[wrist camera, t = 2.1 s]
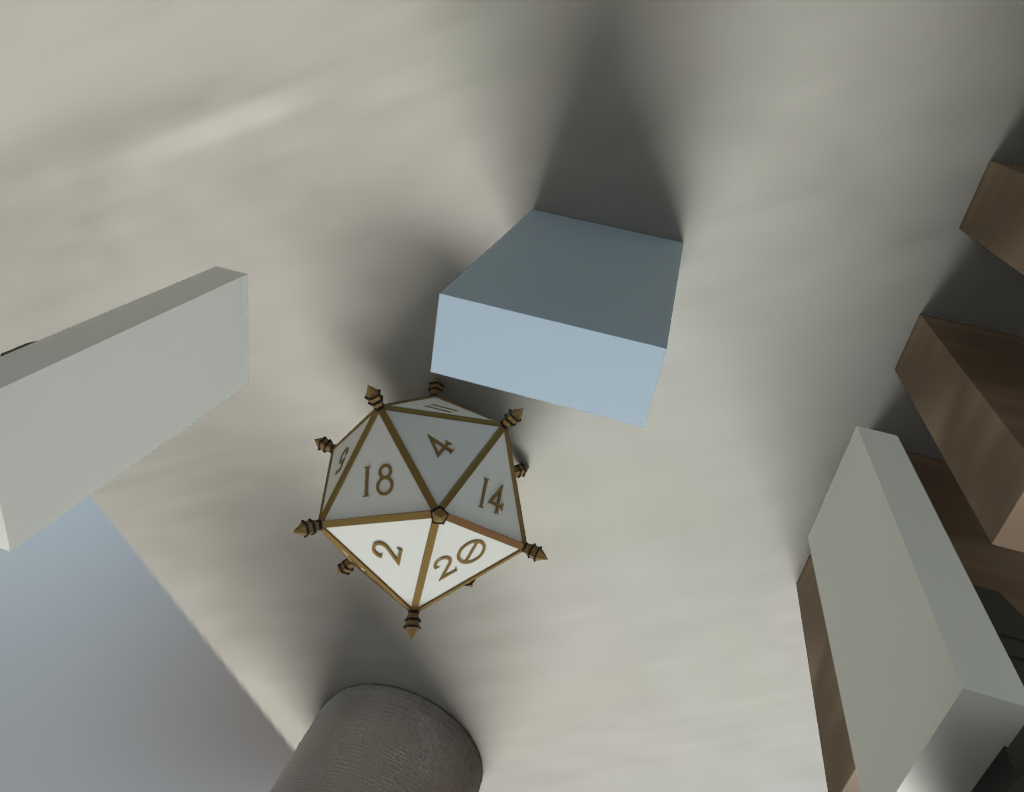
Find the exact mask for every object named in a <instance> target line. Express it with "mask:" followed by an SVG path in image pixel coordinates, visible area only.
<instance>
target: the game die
mask: <svg viewBox="0 0 1024 792" xmlns="http://www.w3.org/2000/svg"><path fill="white" fill-rule="evenodd" d="M429 386H430V388H429V391H430V393H431V395H430V396H427V397H421V398H416V399H410V400H405V401H399V402H394V403H389V404H383V395H381V394H380V389H379V390H377V389H375V388H373V387H371V386H369V385H368V388H367V393H366V396H365V397H364V398H365V399H367V400H368V401H369V402H368V404H369V405H371V406H373V407H374V410H373V411H372V412H371V413H369V414H368V415H367V416H366V417H365V418H364V419H363V420H362V421H361V422H360V423H359V424H358V425H357V426H356V427H355V428H354V429H352V430H351V431H350V432H349V433H348V434H347V435H346V436H345V437H344V438H343V439H342V440H341V441H340V442H339V443H338V444H337V445H334V444H333V442H332V441H331V440H330V439H329V440H328V439H327V438H326V437H324V438H319V439H315V442H316V444H317V446H318V450H323V452H324V453H325V452H330V453H331V458H330V463H329V468H328V473H327V478H326V483H325V488H324V493H323V499H322V504H321V509H320V514H319V519H318V520H311V519H308V521H304V520H301V524H300V525H299V526H298V527H297V528H296V529H295V530H294V531H293V532H294V533H297V534H300V535H303V536H304V538H305V537H307V536H308V535H310V534H311V535H313V534H315V533H316V531H318V530H321V531H322V532H323V533H324V534H325V535H326V536H327V538H328V539H329V540H330V541H331V542H332V543H333V544H334V545H335V546H336V547H337V548H338V549H339V550H340V551H341V552H342V553H343V554H344V556H345V557H346V558H347V559H345V560H344V561H342V563H340V564H338V567H339V568H338V574H347V575H349V574H350V571H353V568H354V566H356V567H357V568H358V569H359V570H361V571H362V572H363V573H364V574H365V575H366V576H368V577H369V578H370V579H371V580H372V581H374V582H375V583H376V584H377V585H378V586H380V587H381V588H382V589H383V590H384V591H386V592H387V593H388V594H389V595H390V596H391V597H393V598H394V599H395V600H396V601H397V602H399V603H400V604H401V605H402V606H403V607H405V608H406V609H407V610H408V612H409V614H408V616H407V618H406V619H405V621H406V624H405V626H404V627H403V628H405V629H406V631H407V633H408V634H409V636H410V638H411V640H412V638H413V637H414V635H415V634H416V632H417V631H418V630H419V629H421V627H420V626H419V622H421V620H420V618H419V612H420V611H421V610H423V609H425V608H426V607H428V606H430V605H431V604H433V603H435V602H437V601H438V600H440V599H442V598H444V597H445V596H447V595H449V594H450V593H452V592H454V591H456V590H457V589H459V588H461V587H462V586H469V587H472V585H473V582H474V581H475V579H476V578H478V577H480V576H481V575H483V574H485V573H486V572H488V571H490V570H492V569H493V568H495V567H497V566H498V565H500V564H502V563H504V562H505V561H507V560H509V559H510V558H512V557H514V556H516V555H517V554H519V553H521V552H524V553H525V554H526V555H528V558H532V559H534V562H535V561H536V560H546V559H548V558H547V557H546V555H545V553H544V552H543V550H542V546H540V547H538V546H536V544H535V543H534V544H528V543H527V542H526V536H525V530H524V523H523V517H522V511H521V505H520V499H519V493H518V487H517V481H516V477H518V478H520V476H522V477H525V474H526V472H527V470H528V469H529V468H528V467H527V466H525V465H523V463H521V464H519V465H518V464H517V465H515V466H514V463H513V457H512V451H511V445H510V439H509V433H508V428H509V427H510V426H515V425H516V423H517V422H520V421H521V415H522V411H523V409H515V410H511V409H509V412H508V413H507V414H506V413H505V414H504V416H505V417H504V419H503V420H502V421H498V420H496V419H493V418H491V417H488V416H486V415H483V414H481V413H478V412H476V411H473V410H471V409H469V408H466V407H464V406H461V405H459V404H456V403H454V402H451V401H449V400H446V399H444V398H441V397H439V395H440V393H441V392H442V391H443V390H442V387H443V384H441V382H440V381H439V379H438V378H437V377H436V378H435V379H434V380H433V381H432V382H430V383H429Z"/></svg>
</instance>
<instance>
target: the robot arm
mask: <svg viewBox="0 0 1024 792" xmlns="http://www.w3.org/2000/svg"><path fill="white" fill-rule="evenodd" d="M247 385H248V283H247V274H245V273H241V272H237V271H233V270H229V269H225V268H221V267H217V266H216V267H214V268H211V269H209V270H206V271H204V272H202V273H199V274H197V275H195V276H192V277H190V278H187V279H185V280H183V281H180V282H178V283H175V284H173V285H171V286H168V287H166V288H163V289H161V290H159V291H156V292H154V293H151V294H149V295H147V296H144V297H142V298H139V299H137V300H135V301H132V302H130V303H128V304H125V305H123V306H120V307H118V308H116V309H113V310H111V311H108V312H106V313H104V314H101V315H99V316H96V317H94V318H92V319H89V320H87V321H84V322H82V323H80V324H77V325H75V326H73V327H70V328H68V329H65V330H63V331H61V332H58V333H56V334H53V335H51V336H49V337H46V338H44V339H41V340H39V341H35V342H30V343H26V344H24V345H21V346H19V347H17V348H14V349H12V350H9V351H7V352H4V353H2V354H1V356H0V548H1V549H4V550H7V551H12V550H13V549H15V548H16V547H18V546H19V545H20V544H22V543H23V542H25V541H26V540H27V539H29V538H30V537H32V536H33V535H35V534H36V533H37V532H39V531H40V530H42V529H43V528H44V527H46V526H47V525H49V524H50V523H52V522H53V521H55V520H56V519H57V518H59V517H60V516H62V515H63V514H64V513H66V512H67V511H69V510H70V509H72V508H73V507H74V506H76V505H77V504H79V503H80V502H82V501H83V500H84V499H86V498H87V497H89V496H90V495H92V494H93V493H94V492H96V491H97V490H99V489H100V488H101V487H103V486H104V485H106V484H107V483H109V482H110V481H111V480H113V479H114V478H116V477H117V476H119V475H120V474H121V473H123V472H124V471H126V470H127V469H128V468H130V467H131V466H133V465H134V464H136V463H137V462H138V461H140V460H141V459H143V458H144V457H146V456H147V455H148V454H150V453H151V452H153V451H154V450H156V449H157V448H158V447H160V446H161V445H163V444H164V443H165V442H167V441H168V440H170V439H171V438H173V437H174V436H175V435H177V434H178V433H180V432H181V431H183V430H184V429H185V428H187V427H188V426H190V425H191V424H192V423H194V422H195V421H197V420H198V419H200V418H201V417H202V416H204V415H205V414H207V413H208V412H210V411H211V410H212V409H214V408H215V407H217V406H218V405H220V404H221V403H222V402H224V401H225V400H227V399H228V398H229V397H231V396H232V395H234V394H235V393H237V392H238V391H239V390H241V389H242V388H244V387H245V386H247ZM808 541H809V546H810V551H811V556H812V561H813V566H814V570H815V575H816V580H817V585H818V590H819V595H820V599H821V604H822V609H823V614H824V619H825V623H826V628H827V633H828V638H829V643H830V648H831V652H832V657H833V662H834V667H835V672H836V676H837V681H838V686H839V691H840V696H841V701H842V705H843V710H844V715H845V720H846V725H847V729H848V734H849V739H850V744H851V749H852V754H853V758H854V763H855V768H856V773H857V778H858V782H859V787H860V792H1024V616H1023V615H1022V614H1021V613H1020V612H1019V611H1018V610H1017V609H1016V608H1015V607H1014V606H1013V605H1012V604H1011V603H1010V602H1009V601H1008V600H1007V599H1006V598H1005V597H1004V596H1003V595H1002V594H1001V593H1000V592H998V591H994V590H990V589H987V588H983V587H980V586H976V585H972V583H971V581H970V579H969V577H968V575H967V573H966V571H965V569H964V567H963V565H962V563H961V561H960V559H959V557H958V555H957V553H956V551H955V549H954V547H953V545H952V543H951V541H950V539H949V537H948V535H947V533H946V531H945V529H944V527H943V525H942V523H941V521H940V519H939V517H938V515H937V513H936V511H935V509H934V507H933V505H932V503H931V501H930V499H929V497H928V495H927V493H926V492H925V490H924V488H923V486H922V484H921V482H920V480H919V478H918V476H917V474H916V472H915V470H914V468H913V466H912V464H911V462H910V460H909V458H908V456H907V454H906V452H905V450H904V448H903V446H902V444H901V442H900V440H899V438H898V436H896V435H892V434H888V433H884V432H880V431H876V430H872V429H868V428H864V427H860V426H856V428H855V431H854V433H853V435H852V437H851V440H850V442H849V444H848V447H847V449H846V451H845V453H844V456H843V458H842V460H841V462H840V465H839V467H838V469H837V472H836V474H835V476H834V478H833V481H832V483H831V485H830V487H829V490H828V492H827V494H826V497H825V499H824V501H823V503H822V506H821V508H820V510H819V512H818V515H817V517H816V519H815V522H814V524H813V526H812V528H811V531H810V533H809V535H808Z"/></svg>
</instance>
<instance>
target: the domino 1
mask: <svg viewBox="0 0 1024 792" xmlns="http://www.w3.org/2000/svg"><path fill="white" fill-rule="evenodd" d="M682 248H683V242H678V241H674V240H669V239H665V238H660V237H656V236H651V235H647V234H642V233H637V232H633V231H628V230H624V229H619V228H615V227H610V226H606V225H601V224H597V223H592V222H588V221H583V220H579V219H574V218H570V217H565V216H560V215H556V214H551V213H547V212H542V211H538V210H532V211H531V212H530V213H528V214H527V215H526V216H525V217H524V218H523V219H522V220H521V221H520V222H518V223H517V224H516V225H515V226H514V227H513V228H512V229H511V230H510V231H508V232H507V233H506V234H505V235H504V236H503V237H502V238H501V239H500V240H498V241H497V242H496V243H495V244H494V245H493V246H492V247H491V248H490V249H488V250H487V251H486V252H485V253H484V254H483V255H482V256H481V257H480V258H478V259H477V260H476V261H475V262H474V263H473V264H472V265H471V266H469V267H468V268H467V269H466V270H465V271H464V272H463V273H462V274H461V275H459V276H458V277H457V278H456V279H455V280H454V281H453V282H452V283H451V284H449V285H448V286H447V287H446V288H445V289H444V290H443V291H442V292H441V293H439V302H438V310H437V319H436V328H435V336H434V345H433V354H432V362H431V371H430V372H433V373H437V374H441V375H445V376H449V377H453V378H456V379H460V380H464V381H468V382H472V383H476V384H479V385H483V386H487V387H491V388H495V389H498V390H502V391H506V392H510V393H514V394H518V395H521V396H525V397H529V398H533V399H537V400H541V401H544V402H548V403H552V404H556V405H560V406H564V407H567V408H571V409H575V410H579V411H583V412H586V413H590V414H594V415H598V416H602V417H606V418H609V419H613V420H617V421H621V422H625V423H629V424H632V425H636V426H640V427H644V426H645V423H646V419H647V416H648V412H649V408H650V405H651V401H652V398H653V394H654V391H655V387H656V384H657V380H658V377H659V373H660V370H661V366H662V363H663V359H664V356H665V352H666V349H667V342H668V336H669V330H670V324H671V317H672V311H673V305H674V298H675V292H676V286H677V279H678V273H679V267H680V261H681V254H682Z"/></svg>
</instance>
